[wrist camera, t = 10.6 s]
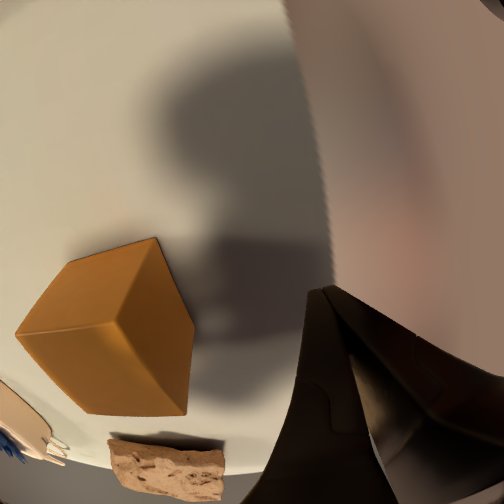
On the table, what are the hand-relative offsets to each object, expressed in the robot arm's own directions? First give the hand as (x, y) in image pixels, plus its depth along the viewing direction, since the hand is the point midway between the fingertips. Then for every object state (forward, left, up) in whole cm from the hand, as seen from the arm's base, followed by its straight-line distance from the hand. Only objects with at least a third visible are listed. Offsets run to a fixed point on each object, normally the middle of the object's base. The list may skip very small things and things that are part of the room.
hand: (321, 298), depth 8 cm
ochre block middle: (+7, -3, -2) cm, 8 cm away
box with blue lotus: (+37, 0, -3) cm, 37 cm away
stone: (+19, +12, -3) cm, 22 cm away
